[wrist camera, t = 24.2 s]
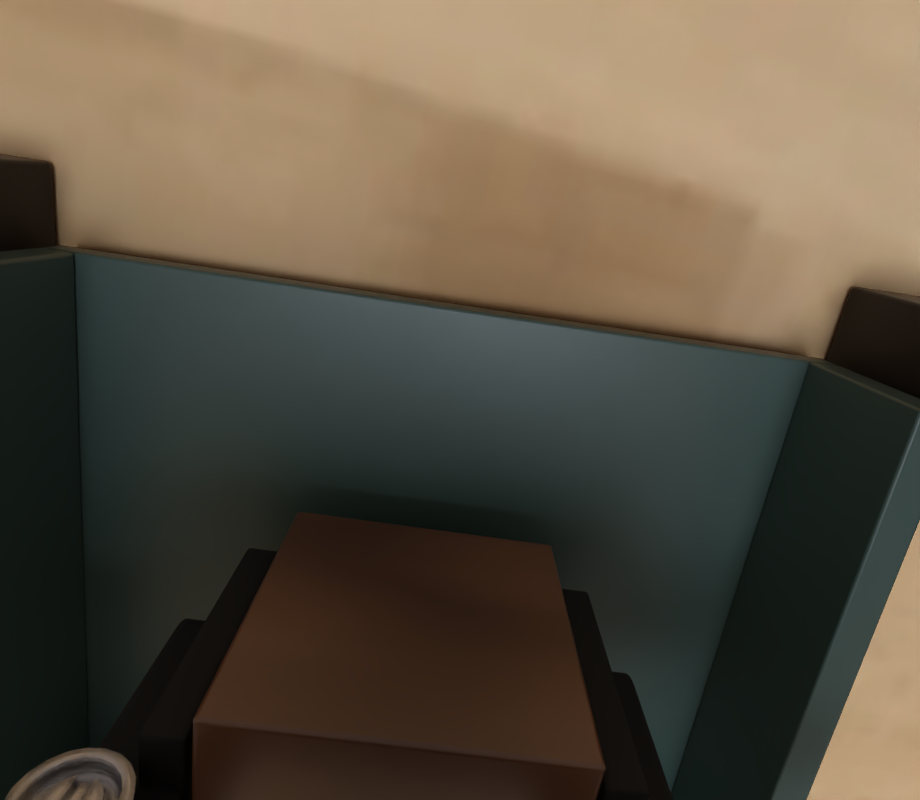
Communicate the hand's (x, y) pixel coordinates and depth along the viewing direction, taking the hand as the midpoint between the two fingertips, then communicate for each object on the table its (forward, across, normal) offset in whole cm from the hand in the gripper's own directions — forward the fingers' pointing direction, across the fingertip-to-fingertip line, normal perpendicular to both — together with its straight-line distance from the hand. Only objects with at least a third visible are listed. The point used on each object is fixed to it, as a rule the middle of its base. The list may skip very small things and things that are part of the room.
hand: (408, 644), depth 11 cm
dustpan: (-1, 0, +3) cm, 3 cm away
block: (0, 0, 0) cm, 0 cm away
